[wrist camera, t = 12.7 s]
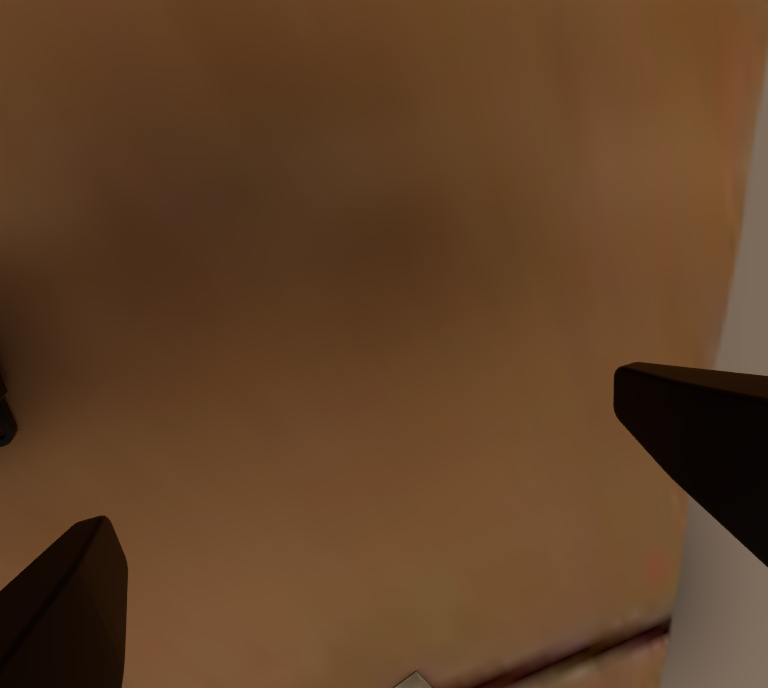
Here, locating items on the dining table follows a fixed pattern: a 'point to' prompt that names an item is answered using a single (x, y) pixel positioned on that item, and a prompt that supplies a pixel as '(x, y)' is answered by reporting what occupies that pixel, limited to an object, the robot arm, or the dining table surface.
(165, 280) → the dining table surface
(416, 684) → the end cap
